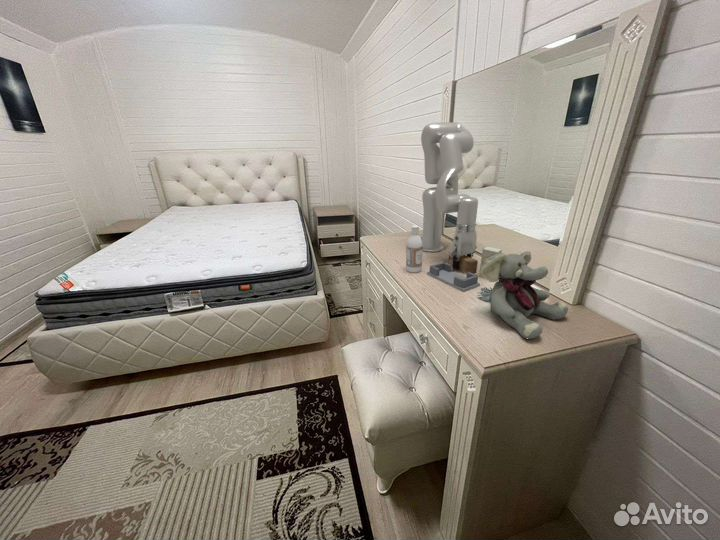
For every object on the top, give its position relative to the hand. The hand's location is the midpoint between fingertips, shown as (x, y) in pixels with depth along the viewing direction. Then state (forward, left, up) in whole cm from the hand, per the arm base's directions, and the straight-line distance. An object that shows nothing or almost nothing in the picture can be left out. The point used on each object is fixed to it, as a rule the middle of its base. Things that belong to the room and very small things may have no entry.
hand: (461, 266), depth 130 cm
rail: (+6, -12, -1) cm, 13 cm away
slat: (0, 0, -1) cm, 1 cm away
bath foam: (-11, -18, -1) cm, 21 cm away
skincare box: (+12, +2, -1) cm, 12 cm away
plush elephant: (+35, -14, -1) cm, 37 cm away
